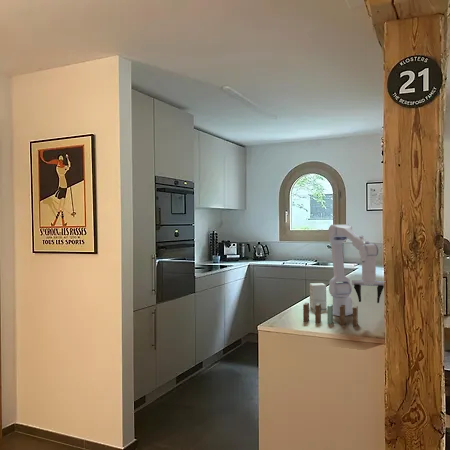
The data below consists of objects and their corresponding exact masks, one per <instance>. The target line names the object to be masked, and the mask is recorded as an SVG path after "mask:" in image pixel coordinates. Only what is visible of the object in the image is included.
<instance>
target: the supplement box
mask: <svg viewBox="0 0 450 450" xmlns="http://www.w3.org/2000/svg"><path fill="white" fill-rule="evenodd" d="M317 303H319V304H321V310H327V306H328V305H327V284H325V283H323V282H314V283H309V308H311V309H312V310H315V305H316V304H317Z"/></svg>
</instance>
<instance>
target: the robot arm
mask: <svg viewBox="0 0 450 450" xmlns="http://www.w3.org/2000/svg"><path fill="white" fill-rule="evenodd" d="M327 232H328V233H327V234H328V242H329V243H330V247H331V256H332V257H331V260H332V267H333V268H332V269H333V277H332V278H331V279H330V280H329V282H328V283H329V284H328V285H329V286H328V292H329V294H330V296H331V297H332V304H333V316H337V317H340V306H341V305H345V317H346V316H351V315H353V299H352V297H351V296H350V295H351V294H352V292H353V291H352V289H353V288H354V290H355V293H356V295H357V299H358V302H359V303H361V302H362V290H361V289H362V286H365V287H366V286H370V287H372V286H373V287H376V288H377V289H376V292H377V295H376V296H377V297H376V303H377V304H380V298H381V296H382V292H383V290H384V288H385V287H384V282H385V281H380V280H376V278H377V277H376V274H377V273H376V272H377V271H376V268H377V267H376V265H377V263H376V262H377V261H376V258H377V257H378V255H379V246H378V245H377V244H376V243H375V242H373V243H371V242H370V241H369V240H367V239H366V238H364V236H363V235H358V234H356V233H355V231H354V230H353V227H352V226H351V225H350V224H349V223H348V224H347V223H346V224H331V225H329V227H328V229H327ZM347 240H350V241H351V244H352V246H353V247H354V248H356V250H358V252H359V256H360V261H361V279H360V280H355V279H354V280H351V281H350V279H349V278H348V277H347V276H346V274H345V264H344V255H343V244H344V242H346V241H347ZM352 286H353V287H352Z"/></svg>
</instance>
